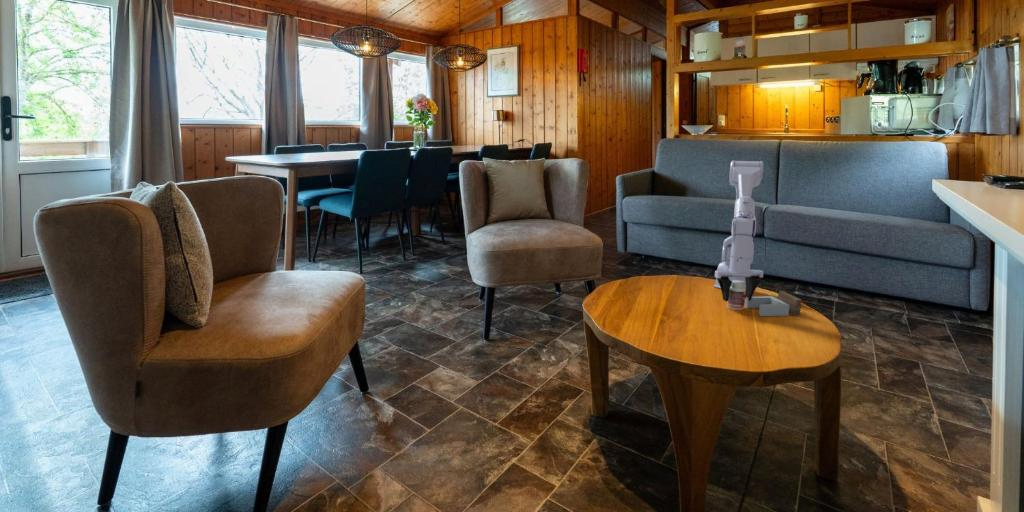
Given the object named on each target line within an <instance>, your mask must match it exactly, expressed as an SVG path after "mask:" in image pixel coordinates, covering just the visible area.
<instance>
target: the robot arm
mask: <svg viewBox="0 0 1024 512" xmlns="http://www.w3.org/2000/svg"><path fill="white" fill-rule="evenodd" d="M729 166H730V167H729V181H728V182H729V186H731V187H735V192H736V195H735V202H734V210H733V212H734V213H733V214H734V215H733V219H732V222H731V231H730V232H731V235H730V236H728V237H727V238H725V239H724V240H723V245H722V251H721V262H719V264H718V266H717V269H716V270H715V271H714V278H716V279H715V284H714V285H713V287H715V288H718V289H720V290H721V295H722V300H723V301H725V302H728V299H729V291H730V287H731V284H732V280H739V281H744V282H745V287H744V288H745V289H746V293H745V300H746V297H747V298H748V301H751V298H752V297H753V295H754V293H755V292H756V290H757V288H758V287H759V285H760V284H761V282H762V279H761V278H764V271H763V270H760V269H751V265H752V264H753V261H754V257H755V256H754V255H755V254H754V253H755V245H754V244H755V242H754V241H753V240H754V237H755V236H756V231H757V219H756V214H755V213H756V212H755V211H756V209H755V208H756V201H755V200H754V199H753V198H752V194H753V188H756V187H758V186H760V183H762V182H761V181H762V179H763V173H764V162H763V161H762V160H760V161H756V160H755V161H754V160H753V161H751V160H750V161H749V160H733V159H732V161H731V162H730V165H729Z"/></svg>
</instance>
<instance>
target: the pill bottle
mask: <svg viewBox="0 0 1024 512" xmlns="http://www.w3.org/2000/svg"><path fill="white" fill-rule="evenodd" d="M744 287H745V282H744V281H739V280H732V284H731V287H730V291H729V299H728V301H727V308H728V309H730V310H735V311H742V310H744V309H745V302H746V299H745V293H746V289H745V288H744Z"/></svg>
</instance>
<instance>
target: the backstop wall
mask: <svg viewBox="0 0 1024 512" xmlns="http://www.w3.org/2000/svg"><path fill="white" fill-rule="evenodd" d="M777 295H778V296H777V299H779V300H781V301H783V302H785V303H786V304H788V305H790V306H789V314H790V315H792V316H794V317H798V316H797V315H801V310H802V309H801V307H802V301H803V300H802V298H799V297H797V296H795V295H793V294H790V293H788V292H786V291H784V290H782V291H781V290H779V291H778V293H777Z"/></svg>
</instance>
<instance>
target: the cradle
mask: <svg viewBox="0 0 1024 512" xmlns="http://www.w3.org/2000/svg"><path fill="white" fill-rule="evenodd" d="M789 306H790V305H788V304H786V303H785V302H783V301H781V300H779V299H778V297H777V298H776V297H775V296H772V295H769V296H767V295H766V296H752V298H751V301H748V298H747V297H746V299H745V303H744V308H746V309H758V308H759V310H758V316H760V317H777V316H780V317H785V316H789V314H790V313H789Z"/></svg>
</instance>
